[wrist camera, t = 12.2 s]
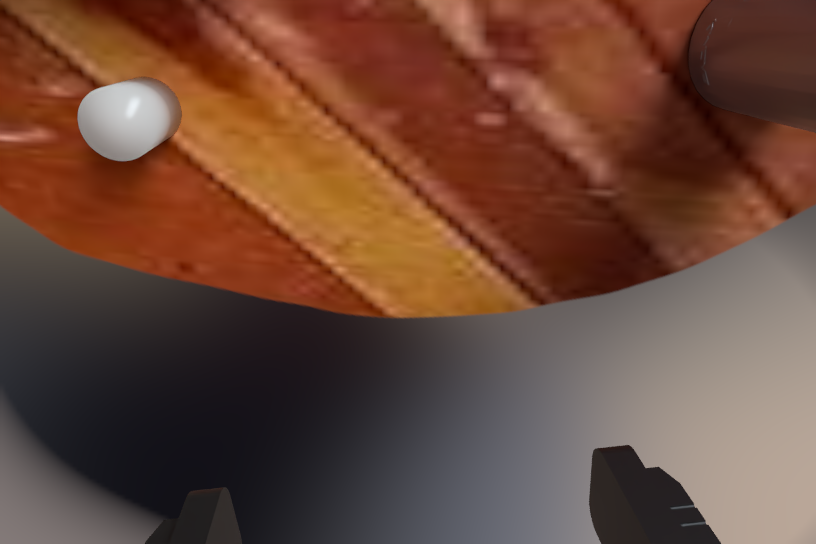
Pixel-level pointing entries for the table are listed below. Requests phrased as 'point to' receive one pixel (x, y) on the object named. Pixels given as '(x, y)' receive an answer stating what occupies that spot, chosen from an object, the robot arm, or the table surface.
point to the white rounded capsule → (129, 117)
